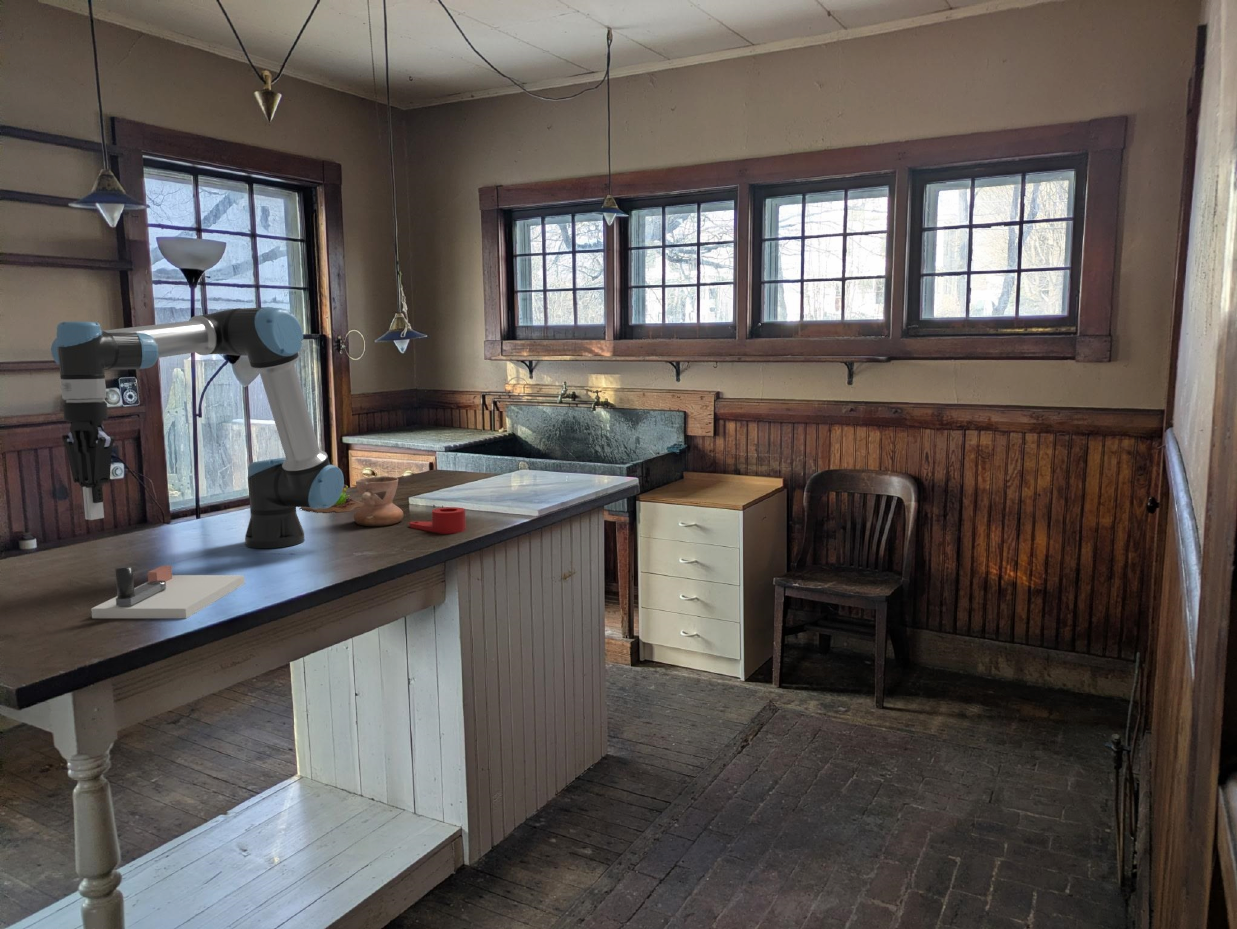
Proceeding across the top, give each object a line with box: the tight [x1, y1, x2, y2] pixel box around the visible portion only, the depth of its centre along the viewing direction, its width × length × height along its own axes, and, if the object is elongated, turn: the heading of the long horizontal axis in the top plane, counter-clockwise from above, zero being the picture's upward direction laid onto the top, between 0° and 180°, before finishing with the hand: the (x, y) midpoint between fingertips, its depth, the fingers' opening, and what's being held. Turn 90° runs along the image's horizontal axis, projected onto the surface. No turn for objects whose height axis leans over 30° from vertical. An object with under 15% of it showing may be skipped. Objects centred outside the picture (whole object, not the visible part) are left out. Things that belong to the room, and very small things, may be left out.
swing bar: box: [114, 565, 166, 606], centre depth 182 cm, size 14×4×8 cm, turn 178°
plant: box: [298, 484, 364, 514], centre depth 290 cm, size 20×20×11 cm
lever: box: [409, 506, 467, 535], centre depth 258 cm, size 18×9×7 cm, turn 68°
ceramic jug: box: [353, 475, 404, 528], centre depth 266 cm, size 18×14×14 cm
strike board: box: [90, 565, 246, 619], centre depth 188 cm, size 26×19×5 cm
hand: (94, 518), depth 177 cm, fingers closed
